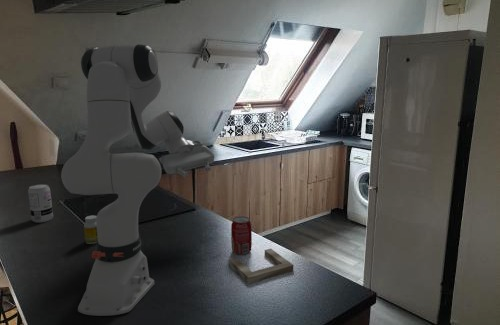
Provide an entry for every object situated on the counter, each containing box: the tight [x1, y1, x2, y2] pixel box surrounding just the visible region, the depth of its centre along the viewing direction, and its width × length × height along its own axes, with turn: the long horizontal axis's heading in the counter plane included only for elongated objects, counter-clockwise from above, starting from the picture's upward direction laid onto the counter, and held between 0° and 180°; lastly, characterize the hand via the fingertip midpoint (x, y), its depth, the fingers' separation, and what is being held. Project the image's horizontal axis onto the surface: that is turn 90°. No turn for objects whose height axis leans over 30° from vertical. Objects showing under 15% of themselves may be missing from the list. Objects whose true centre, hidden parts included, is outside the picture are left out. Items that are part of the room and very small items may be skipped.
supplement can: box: [27, 183, 54, 224], centre depth 160 cm, size 8×8×15 cm
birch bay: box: [228, 248, 294, 285], centre depth 119 cm, size 14×16×2 cm
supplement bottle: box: [83, 215, 98, 245], centre depth 138 cm, size 5×5×10 cm
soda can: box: [230, 215, 253, 256], centre depth 129 cm, size 7×7×12 cm
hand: (197, 173), depth 140 cm, fingers open, 8 cm apart
